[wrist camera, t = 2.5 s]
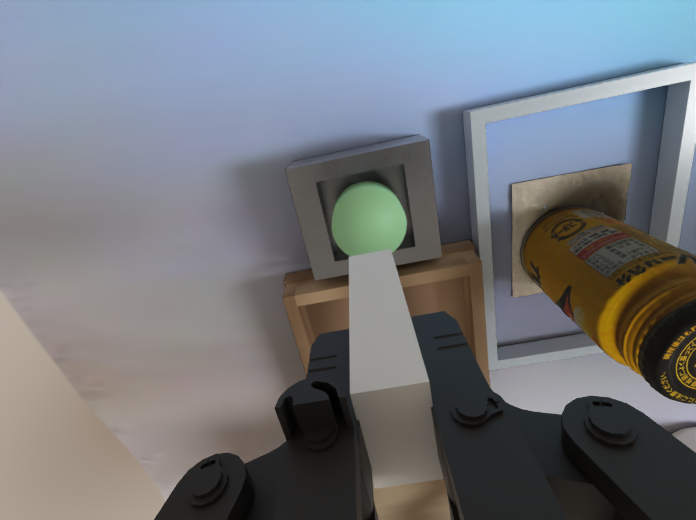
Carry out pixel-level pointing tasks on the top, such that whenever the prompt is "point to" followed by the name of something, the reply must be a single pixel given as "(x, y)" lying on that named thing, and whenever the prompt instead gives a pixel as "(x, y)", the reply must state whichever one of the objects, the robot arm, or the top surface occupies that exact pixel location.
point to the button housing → (358, 166)
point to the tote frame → (669, 196)
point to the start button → (368, 219)
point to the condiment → (608, 274)
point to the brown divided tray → (419, 290)
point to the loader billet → (413, 501)
